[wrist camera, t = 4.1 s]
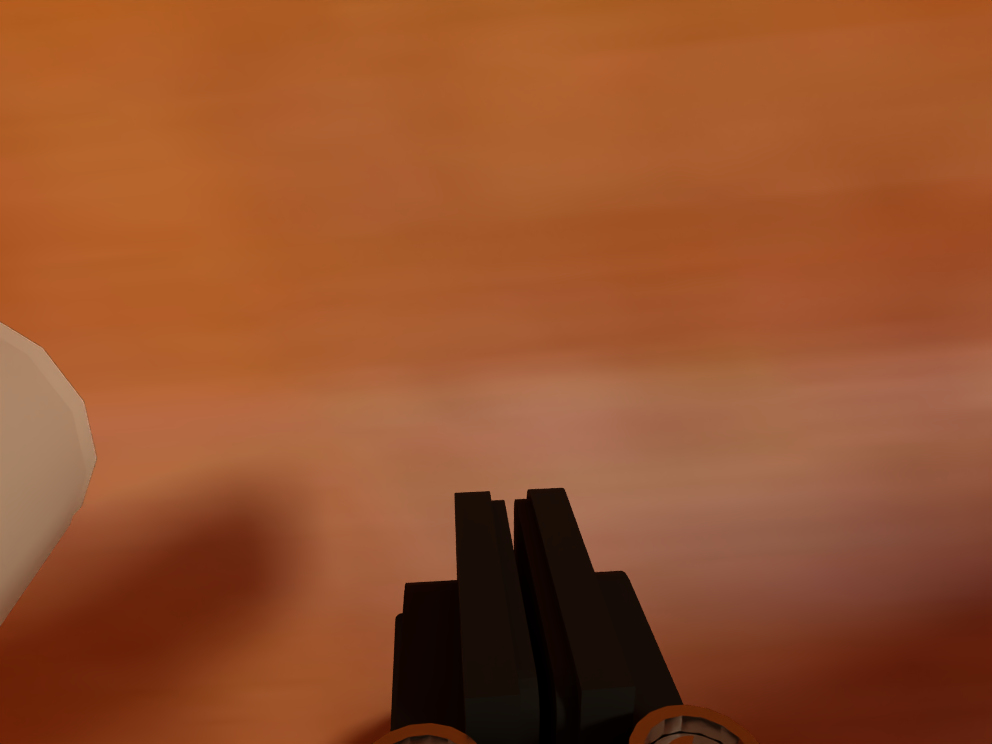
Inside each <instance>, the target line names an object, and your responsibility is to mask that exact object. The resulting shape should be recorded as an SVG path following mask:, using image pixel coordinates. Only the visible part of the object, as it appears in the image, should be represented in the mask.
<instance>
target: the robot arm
mask: <svg viewBox="0 0 992 744" xmlns="http://www.w3.org/2000/svg"><path fill="white" fill-rule="evenodd" d="M455 527H456V560H457V580H451V581H433V582H415V583H406V584H405V590H404V604H403V618H402V632H401V646H400V661H399V675H398V689H397V703H396V718H395V730H394V731H391V732H389V733H388V734H386V735H384V736H383V737H381V738H380V739H378V740H377V741H375V742H374V743H372V744H760V743H759V742H758V741H757V740H756V739H755V738H754V737H753V736H752V735H751V734H750V733H749V731H748V730H746V729H745V728H744V727H742V726H741V725H739V724H738V723H736V722H735V721H733V720H732V719H731V718H729V717H727V716H725V715H722V714H720V713H718V712H715V711H713V710H710V709H708V708H703V707H697V706H691V705H683V702H682V700H681V698H680V696H679V693H678V691H677V689H676V686H675V684H674V682H673V679H672V677H671V675H670V672H669V670H668V668H667V665H666V663H665V661H664V659H663V656H662V654H661V652H660V649H659V647H658V645H657V642H656V640H655V638H654V635H653V633H652V631H651V629H650V626H649V624H648V622H647V619H646V617H645V615H644V612H643V610H642V608H641V605H640V603H639V601H638V598H637V596H636V594H635V592H634V589H633V587H632V585H631V582H630V580H629V578H628V576H627V575H626V573H625V572H623V571H609V572H594V569H593V567H592V564H591V561H590V558H589V556H588V553H587V550H586V547H585V544H584V542H583V539H582V536H581V533H580V531H579V528H578V525H577V522H576V519H575V517H574V514H573V511H572V508H571V506H570V503H569V500H568V497H567V494H566V492H565V490H564V488H549V489H528V491H527V499H515V501H514V550H513V544H512V539H511V533H510V528H509V523H508V517H507V512H506V506H505V502H504V500H494V501H491V495H490V491H485V492H463V493H455Z"/></svg>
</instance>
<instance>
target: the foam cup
mask: <svg viewBox="0 0 992 744" xmlns="http://www.w3.org/2000/svg"><path fill="white" fill-rule="evenodd" d="M96 459H97V458H96V454H95V449H94V445H93V440H92V436H91V431H90V427H89V422H88V418H87V414H86V409H85V405H84V401H83V400H82V399H81V397H80V396H79V395H78V394H77V392H76V391H75V390H74V388H73V387H72V386H71V384H70V383H69V382H68V380H67V379H66V378H65V377H64V375H63V374H62V373H61V371H60V370H59V369H58V367H57V366H56V365H55V364H54V362H53V361H52V360H51V358H50V357H49V356H48V354H47V353H46V352H45V351H44V349H43V348H42V347H40V346H38V345H37V344H35V343H34V342H32V341H30V340H29V339H27V338H25V337H24V336H22V335H20V334H19V333H17V332H16V331H14V330H12V329H11V328H9V327H7V326H6V325H4V324H2V323H1V322H0V626H1V625H2V623H3V622H4V620H5V619H6V617H7V616H8V614H9V613H10V611H11V610H12V609H13V607H14V606H15V604H16V603H17V601H18V600H19V598H20V597H21V595H22V594H23V593H24V591H25V590H26V588H27V587H28V585H29V584H30V582H31V581H32V579H33V578H34V577H35V575H36V574H37V572H38V571H39V569H40V568H41V566H42V565H43V563H44V562H45V560H46V559H47V558H48V556H49V555H50V553H51V552H52V550H53V549H54V547H55V546H56V544H57V543H58V542H59V540H60V539H61V537H62V536H63V534H64V533H65V531H66V530H67V528H68V527H69V526H70V523H71V520H72V517H73V515H74V514H75V513H76V512H77V511H78V510H79V509H80V508H81V506H82V503H83V500H84V496H85V493H86V490H87V487H88V484H89V481H90V478H91V475H92V471H93V468H94V465H95V462H96Z"/></svg>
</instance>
